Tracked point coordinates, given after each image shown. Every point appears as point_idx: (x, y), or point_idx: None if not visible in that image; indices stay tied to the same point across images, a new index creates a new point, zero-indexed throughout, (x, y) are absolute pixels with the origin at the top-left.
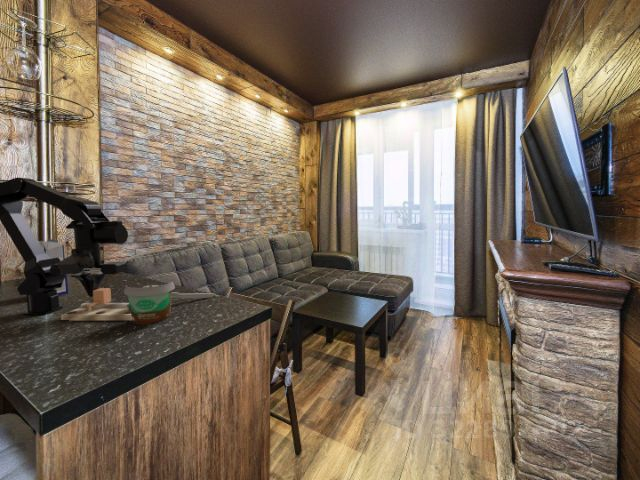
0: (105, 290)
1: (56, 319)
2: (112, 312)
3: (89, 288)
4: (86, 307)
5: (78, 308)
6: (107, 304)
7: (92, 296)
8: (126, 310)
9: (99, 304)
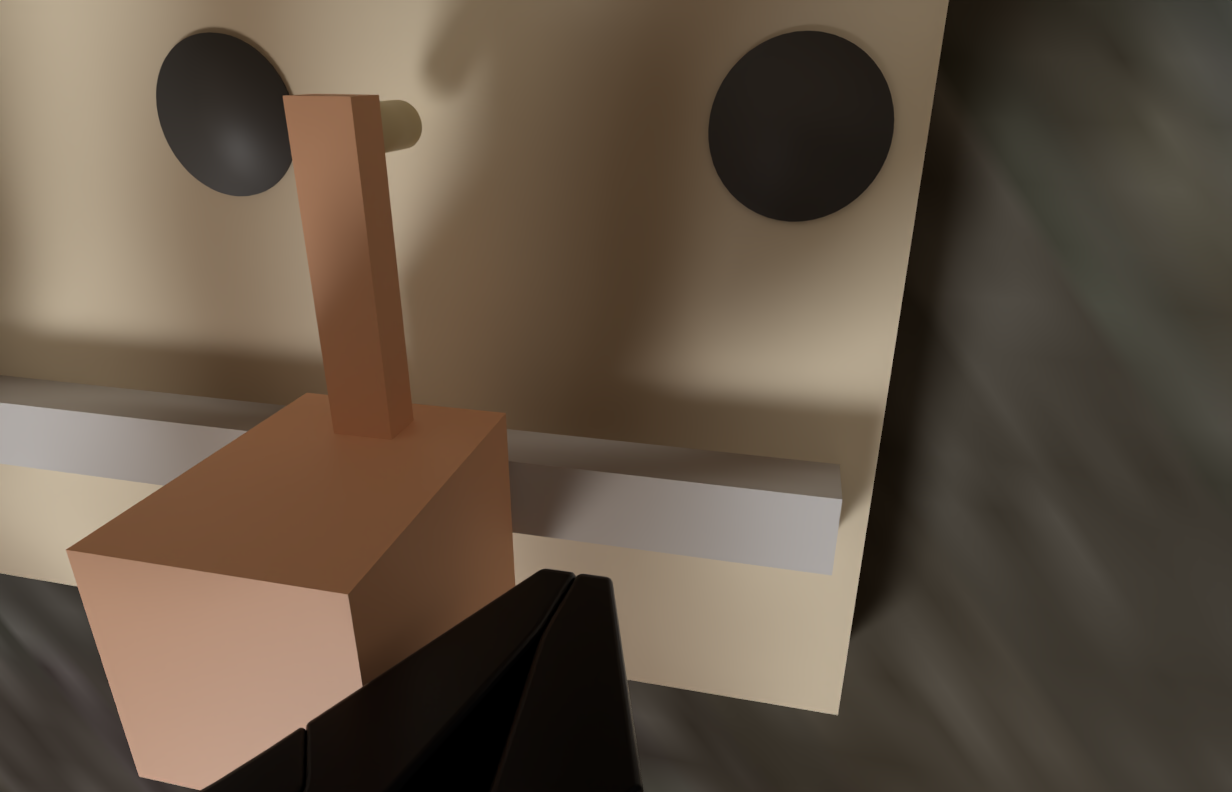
0: (99, 613)
1: (1100, 46)
2: (53, 126)
3: (454, 702)
4: (724, 451)
5: (858, 419)
6: None
7: (541, 583)
8: None
9: None
